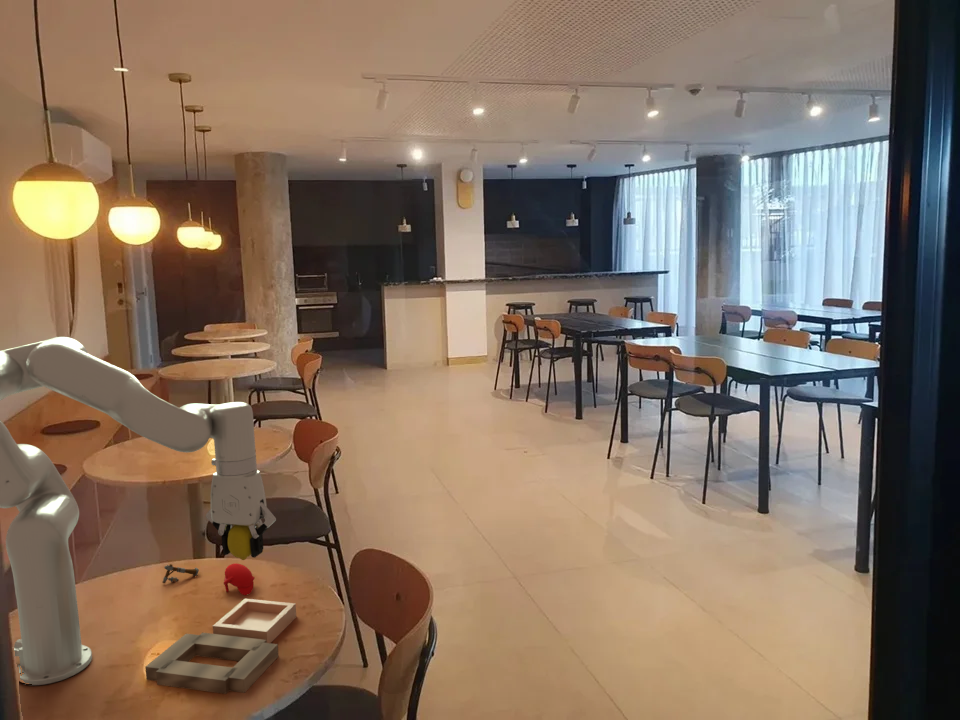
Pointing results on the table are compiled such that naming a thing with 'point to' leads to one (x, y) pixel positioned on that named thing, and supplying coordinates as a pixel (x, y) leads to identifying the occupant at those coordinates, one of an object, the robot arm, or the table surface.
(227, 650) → the rectangular open frame
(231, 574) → the cap
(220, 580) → the table surface
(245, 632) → the tray
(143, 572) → the table surface
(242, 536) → the lemon
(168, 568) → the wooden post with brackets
